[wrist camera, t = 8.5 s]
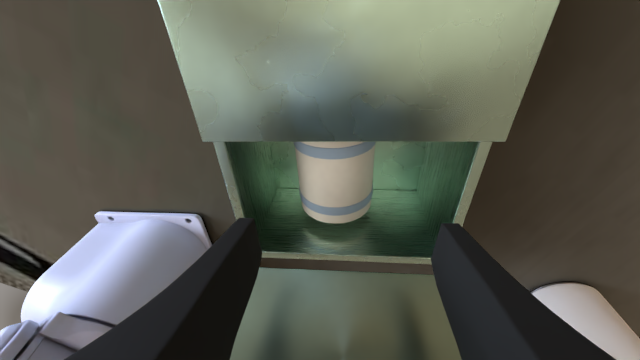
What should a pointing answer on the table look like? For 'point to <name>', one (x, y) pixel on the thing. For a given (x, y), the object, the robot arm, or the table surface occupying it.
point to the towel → (335, 179)
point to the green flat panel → (344, 317)
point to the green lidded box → (356, 107)
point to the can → (591, 317)
